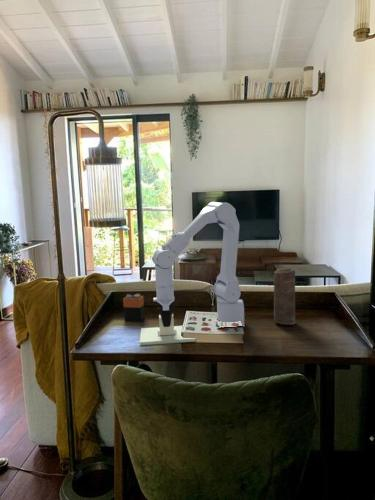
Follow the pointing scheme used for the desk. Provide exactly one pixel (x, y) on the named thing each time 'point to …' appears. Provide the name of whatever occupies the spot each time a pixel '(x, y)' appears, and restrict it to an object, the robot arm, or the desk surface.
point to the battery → (133, 308)
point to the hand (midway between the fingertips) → (166, 324)
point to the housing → (166, 329)
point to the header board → (162, 336)
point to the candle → (284, 296)
